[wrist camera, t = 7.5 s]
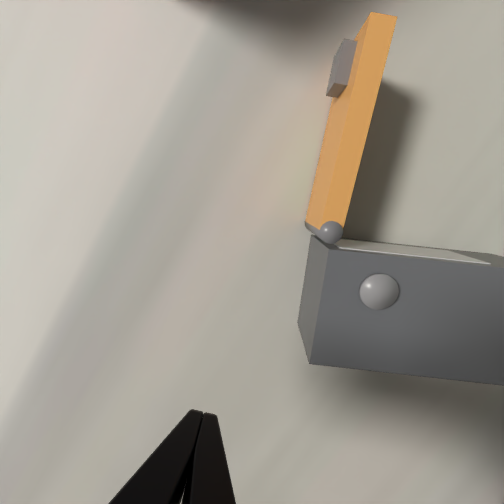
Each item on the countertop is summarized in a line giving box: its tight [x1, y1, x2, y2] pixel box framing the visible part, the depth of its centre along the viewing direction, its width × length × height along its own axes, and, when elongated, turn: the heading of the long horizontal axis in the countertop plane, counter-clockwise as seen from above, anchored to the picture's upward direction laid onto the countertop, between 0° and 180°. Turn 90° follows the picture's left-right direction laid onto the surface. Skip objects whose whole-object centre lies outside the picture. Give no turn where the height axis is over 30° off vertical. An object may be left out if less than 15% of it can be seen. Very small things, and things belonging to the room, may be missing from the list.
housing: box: [298, 235, 504, 385], centre depth 17 cm, size 7×14×5 cm, turn 84°
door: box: [305, 12, 397, 244], centre depth 15 cm, size 2×11×5 cm, turn 170°
